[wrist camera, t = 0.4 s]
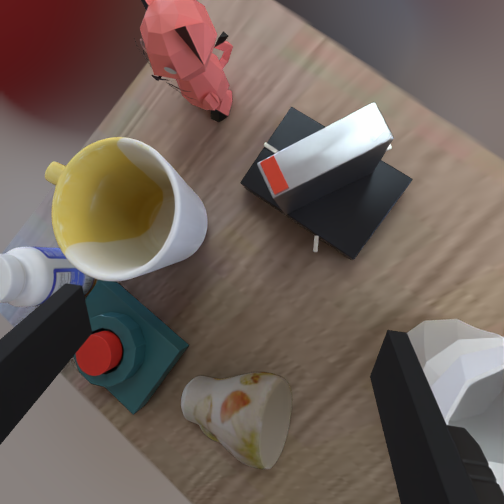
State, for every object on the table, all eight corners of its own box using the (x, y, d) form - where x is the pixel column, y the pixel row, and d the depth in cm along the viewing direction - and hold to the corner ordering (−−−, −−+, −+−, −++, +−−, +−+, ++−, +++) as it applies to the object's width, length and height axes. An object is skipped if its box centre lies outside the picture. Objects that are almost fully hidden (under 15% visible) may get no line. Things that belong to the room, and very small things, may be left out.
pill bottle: (51, 263, 35) (-47, 264, 26) (88, 240, 35) (1, 232, 25) (70, 307, 35) (-23, 324, 25) (109, 284, 34) (27, 293, 24)
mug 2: (187, 353, 32) (200, 368, 23) (276, 366, 34) (321, 385, 25) (170, 434, 30) (177, 487, 21) (265, 442, 33) (310, 493, 23)
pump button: (130, 347, 29) (118, 353, 27) (109, 377, 30) (96, 384, 28) (103, 322, 30) (89, 326, 28) (82, 352, 30) (68, 357, 28)
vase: (501, 427, 26) (653, 565, 14) (388, 411, 28) (438, 522, 16) (505, 320, 26) (656, 369, 14) (391, 312, 28) (444, 349, 16)
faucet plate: (414, 173, 28) (424, 164, 25) (341, 272, 29) (344, 273, 26) (301, 105, 30) (299, 91, 27) (237, 200, 31) (230, 194, 29)
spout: (359, 145, 26) (375, 98, 19) (373, 172, 26) (395, 136, 19) (273, 188, 28) (255, 161, 20) (285, 215, 28) (272, 197, 20)
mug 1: (245, 215, 31) (208, 192, 21) (184, 295, 32) (120, 311, 22) (146, 137, 33) (70, 83, 23) (93, 214, 34) (-3, 195, 24)
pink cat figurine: (170, 98, 33) (87, 9, 21) (215, 46, 32) (155, -77, 20) (215, 143, 32) (154, 74, 20) (263, 90, 31) (229, -14, 19)
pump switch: (189, 345, 32) (171, 357, 28) (145, 404, 33) (121, 424, 29) (112, 278, 34) (85, 280, 30) (73, 336, 35) (41, 345, 31)
